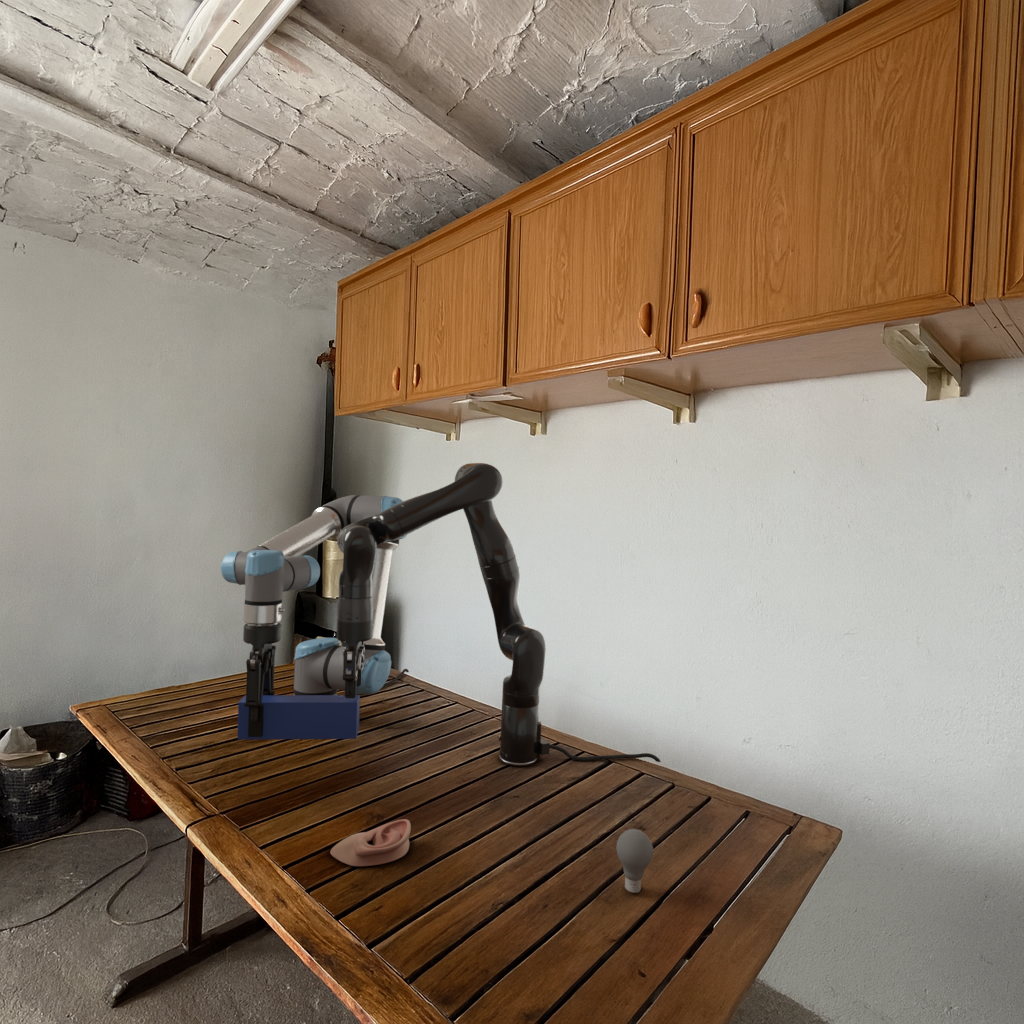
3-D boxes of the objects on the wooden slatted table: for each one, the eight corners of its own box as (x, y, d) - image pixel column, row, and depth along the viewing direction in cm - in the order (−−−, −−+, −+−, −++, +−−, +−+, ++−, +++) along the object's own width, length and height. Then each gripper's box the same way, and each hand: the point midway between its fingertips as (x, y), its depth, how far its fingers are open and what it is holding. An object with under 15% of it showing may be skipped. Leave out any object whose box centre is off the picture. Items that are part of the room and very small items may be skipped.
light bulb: (610, 879, 108) (613, 822, 108) (644, 879, 109) (647, 822, 109) (619, 902, 102) (622, 840, 102) (655, 901, 103) (658, 840, 103)
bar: (237, 739, 133) (238, 702, 132) (244, 731, 137) (245, 695, 137) (355, 739, 135) (357, 702, 135) (358, 730, 140) (360, 695, 140)
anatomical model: (322, 838, 110) (352, 807, 121) (321, 861, 110) (351, 828, 121) (394, 850, 107) (417, 817, 119) (393, 873, 107) (416, 838, 119)
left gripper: (269, 632, 126) (265, 747, 127) (291, 615, 144) (287, 716, 145) (230, 631, 125) (226, 747, 126) (256, 614, 143) (253, 716, 144)
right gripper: (368, 624, 130) (366, 702, 131) (376, 611, 144) (374, 681, 145) (331, 624, 129) (329, 702, 130) (342, 611, 143) (341, 681, 144)
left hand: (259, 731), depth 135 cm, fingers closed on bar, 5 cm apart
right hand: (353, 691), depth 137 cm, fingers open, 8 cm apart
